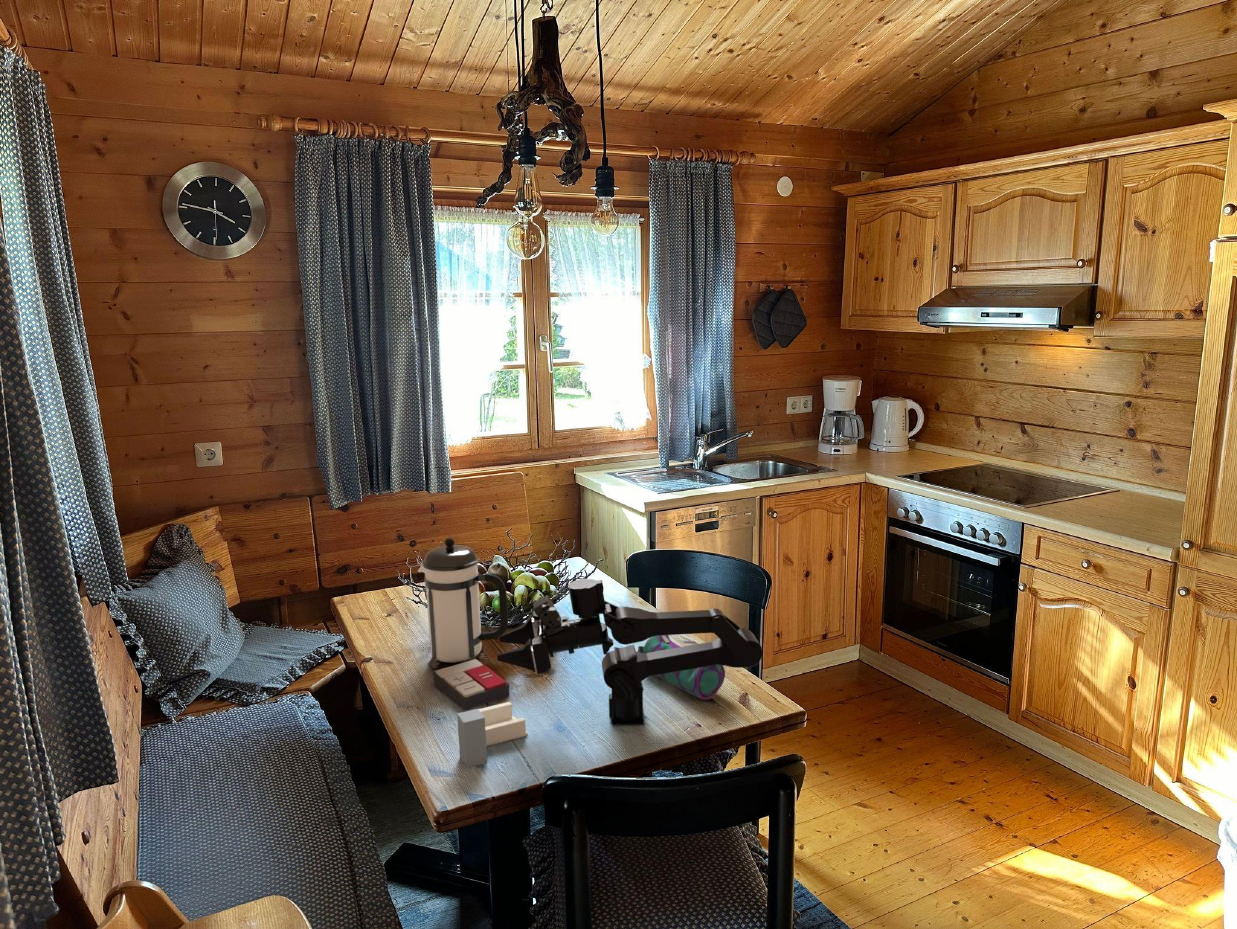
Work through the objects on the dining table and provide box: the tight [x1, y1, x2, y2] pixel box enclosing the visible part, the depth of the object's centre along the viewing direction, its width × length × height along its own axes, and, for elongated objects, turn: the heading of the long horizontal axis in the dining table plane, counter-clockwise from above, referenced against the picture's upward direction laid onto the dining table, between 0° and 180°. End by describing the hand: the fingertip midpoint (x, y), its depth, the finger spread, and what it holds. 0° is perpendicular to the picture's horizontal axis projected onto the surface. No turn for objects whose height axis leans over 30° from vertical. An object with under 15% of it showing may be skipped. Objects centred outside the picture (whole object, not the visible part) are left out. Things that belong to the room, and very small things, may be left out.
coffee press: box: [417, 537, 509, 670], centre depth 206 cm, size 17×16×30 cm
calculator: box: [432, 658, 510, 711], centre depth 192 cm, size 11×4×15 cm
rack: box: [477, 701, 529, 747], centre depth 173 cm, size 10×9×4 cm
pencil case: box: [637, 635, 726, 701], centre depth 192 cm, size 21×9×10 cm, turn 35°
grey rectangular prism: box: [456, 708, 488, 768], centre depth 163 cm, size 4×4×9 cm
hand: (498, 648), depth 173 cm, fingers open, 9 cm apart
